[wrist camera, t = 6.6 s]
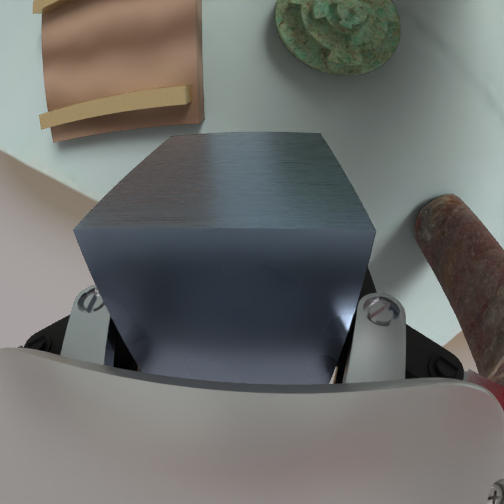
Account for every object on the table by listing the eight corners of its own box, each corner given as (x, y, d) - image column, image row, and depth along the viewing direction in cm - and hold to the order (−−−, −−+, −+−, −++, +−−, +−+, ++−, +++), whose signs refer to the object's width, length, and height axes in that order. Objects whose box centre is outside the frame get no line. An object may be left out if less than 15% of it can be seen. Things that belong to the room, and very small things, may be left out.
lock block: (171, 136, 9) (73, 229, 4) (320, 133, 9) (375, 231, 4) (199, 303, 14) (172, 417, 9) (304, 306, 14) (311, 426, 9)
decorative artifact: (402, 64, 19) (365, -32, 14) (441, 68, 14) (393, -55, 8) (299, 86, 22) (257, -12, 17) (309, 93, 16) (252, -37, 11)
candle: (413, 255, 31) (479, 406, 15) (402, 204, 28) (496, 369, 11) (464, 232, 29) (548, 365, 13) (459, 181, 25) (575, 315, 9)
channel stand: (54, -11, 14) (31, -13, 11) (202, -56, 13) (191, -72, 10) (64, 136, 25) (41, 149, 22) (204, 119, 24) (193, 128, 21)
